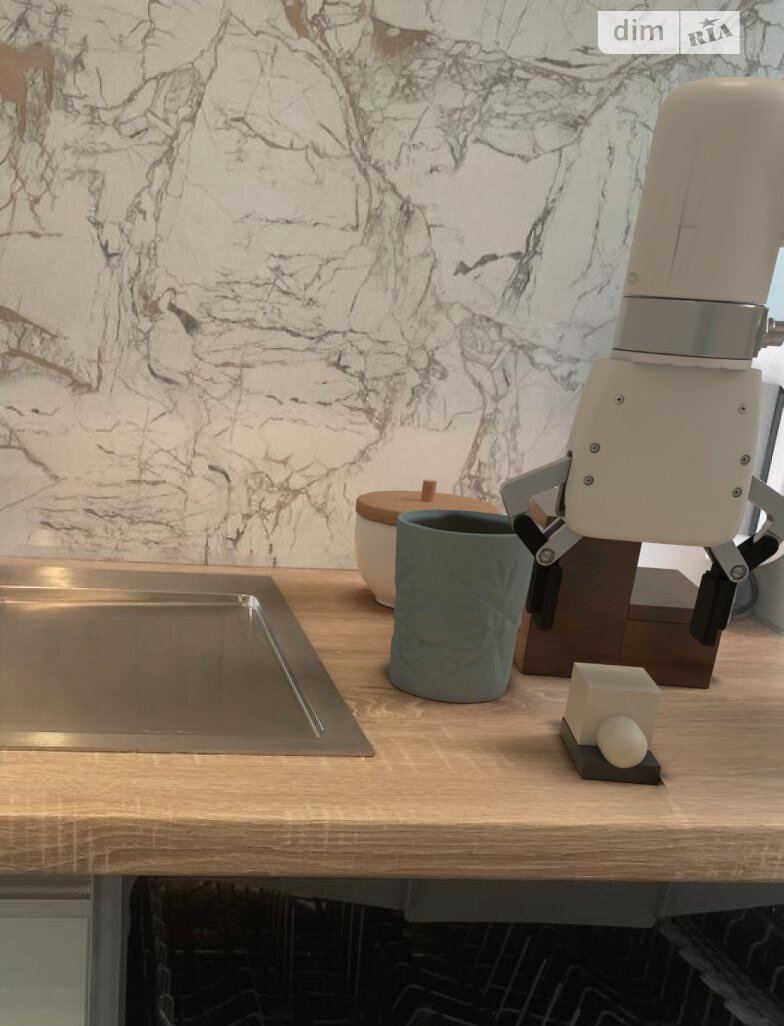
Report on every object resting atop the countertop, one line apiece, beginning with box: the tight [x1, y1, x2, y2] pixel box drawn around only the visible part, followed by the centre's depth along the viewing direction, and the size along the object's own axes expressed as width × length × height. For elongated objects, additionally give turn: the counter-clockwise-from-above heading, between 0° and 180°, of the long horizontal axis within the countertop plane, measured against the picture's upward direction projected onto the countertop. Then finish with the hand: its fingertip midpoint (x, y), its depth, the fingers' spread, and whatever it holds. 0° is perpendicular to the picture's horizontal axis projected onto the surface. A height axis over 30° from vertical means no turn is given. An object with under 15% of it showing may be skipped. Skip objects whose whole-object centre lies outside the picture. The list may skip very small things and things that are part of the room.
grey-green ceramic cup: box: [389, 509, 543, 704], centre depth 86 cm, size 10×10×12 cm
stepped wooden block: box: [513, 487, 723, 689], centre depth 95 cm, size 14×14×12 cm
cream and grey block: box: [559, 662, 664, 786], centre depth 74 cm, size 9×4×5 cm, turn 173°
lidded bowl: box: [354, 479, 500, 609], centre depth 108 cm, size 13×13×11 cm
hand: (620, 633), depth 73 cm, fingers open, 9 cm apart
